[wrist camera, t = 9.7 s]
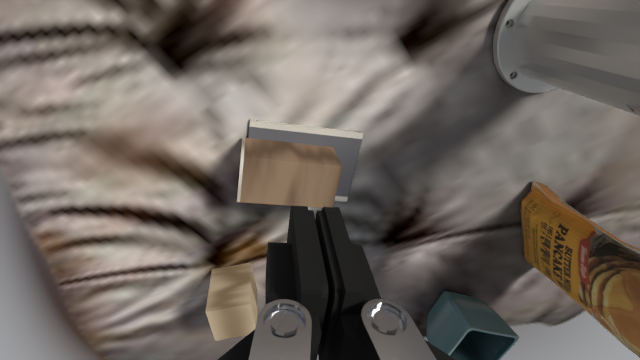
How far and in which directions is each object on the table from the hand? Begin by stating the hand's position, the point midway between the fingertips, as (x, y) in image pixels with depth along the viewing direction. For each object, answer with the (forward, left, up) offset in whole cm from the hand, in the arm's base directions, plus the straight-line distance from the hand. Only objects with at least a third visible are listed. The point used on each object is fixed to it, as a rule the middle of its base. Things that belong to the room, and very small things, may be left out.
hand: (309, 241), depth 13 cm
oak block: (+2, +28, -27) cm, 39 cm away
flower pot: (-31, +32, -27) cm, 52 cm away
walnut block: (+3, +10, -24) cm, 26 cm away
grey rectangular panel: (-4, +10, -27) cm, 29 cm away
